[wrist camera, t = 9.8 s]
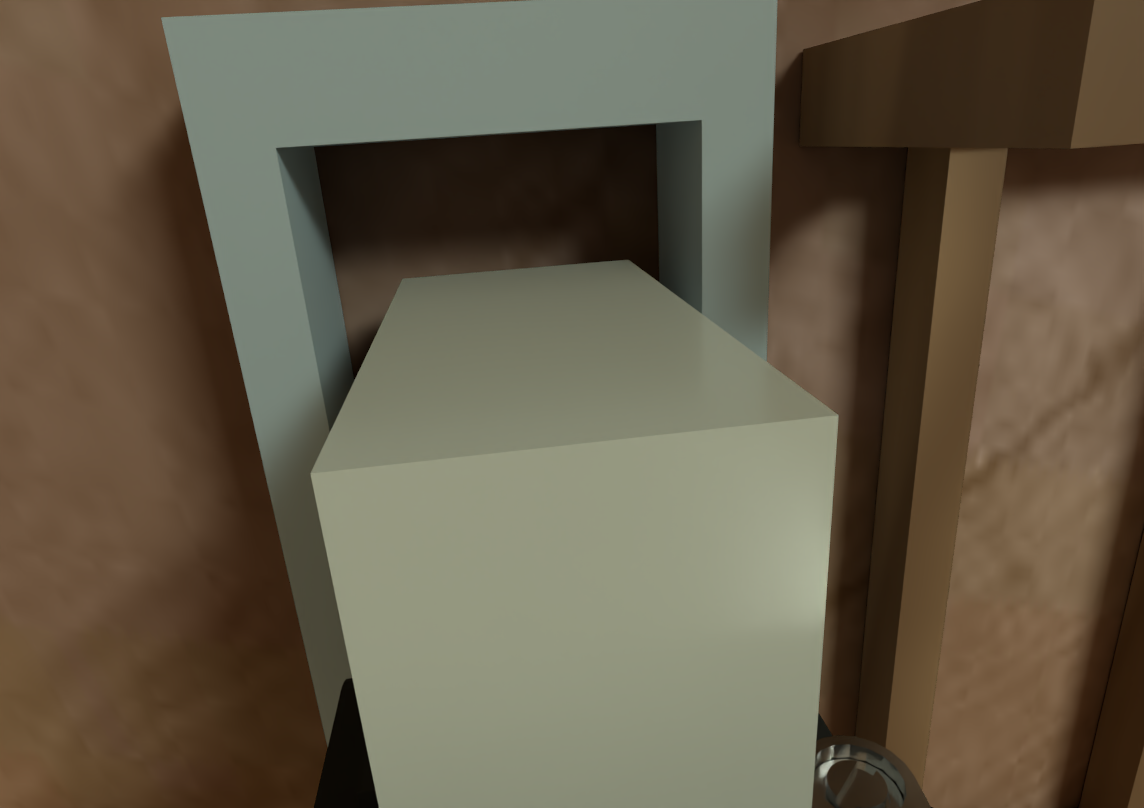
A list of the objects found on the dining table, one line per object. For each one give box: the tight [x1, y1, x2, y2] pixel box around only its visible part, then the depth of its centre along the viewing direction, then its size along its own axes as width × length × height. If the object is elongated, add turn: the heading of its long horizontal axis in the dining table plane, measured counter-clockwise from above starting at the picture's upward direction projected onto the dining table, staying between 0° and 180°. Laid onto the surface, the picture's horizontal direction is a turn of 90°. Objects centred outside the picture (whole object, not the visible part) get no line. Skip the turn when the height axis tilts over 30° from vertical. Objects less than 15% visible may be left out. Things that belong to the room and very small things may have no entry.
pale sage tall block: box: [310, 260, 839, 808], centre depth 10 cm, size 4×12×7 cm, turn 4°
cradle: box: [161, 0, 777, 747], centre depth 13 cm, size 8×19×2 cm, turn 4°
